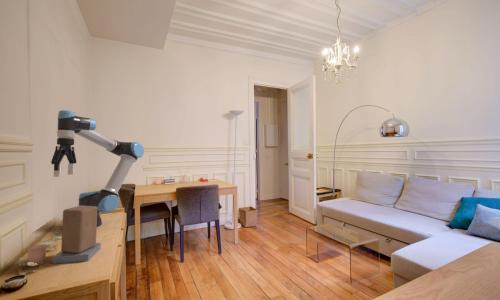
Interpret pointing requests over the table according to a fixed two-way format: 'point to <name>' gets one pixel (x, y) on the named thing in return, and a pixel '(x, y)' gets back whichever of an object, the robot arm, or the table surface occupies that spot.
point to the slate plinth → (76, 255)
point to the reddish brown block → (37, 254)
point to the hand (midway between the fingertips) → (64, 175)
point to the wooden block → (79, 229)
